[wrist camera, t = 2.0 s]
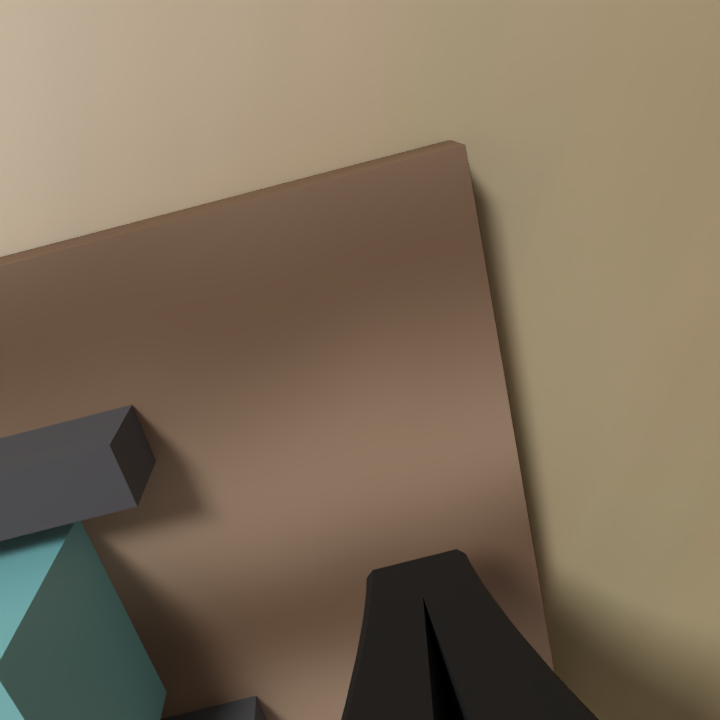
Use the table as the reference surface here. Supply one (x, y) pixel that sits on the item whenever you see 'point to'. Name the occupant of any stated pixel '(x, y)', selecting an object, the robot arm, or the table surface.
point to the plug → (68, 635)
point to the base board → (284, 417)
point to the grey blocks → (85, 491)
